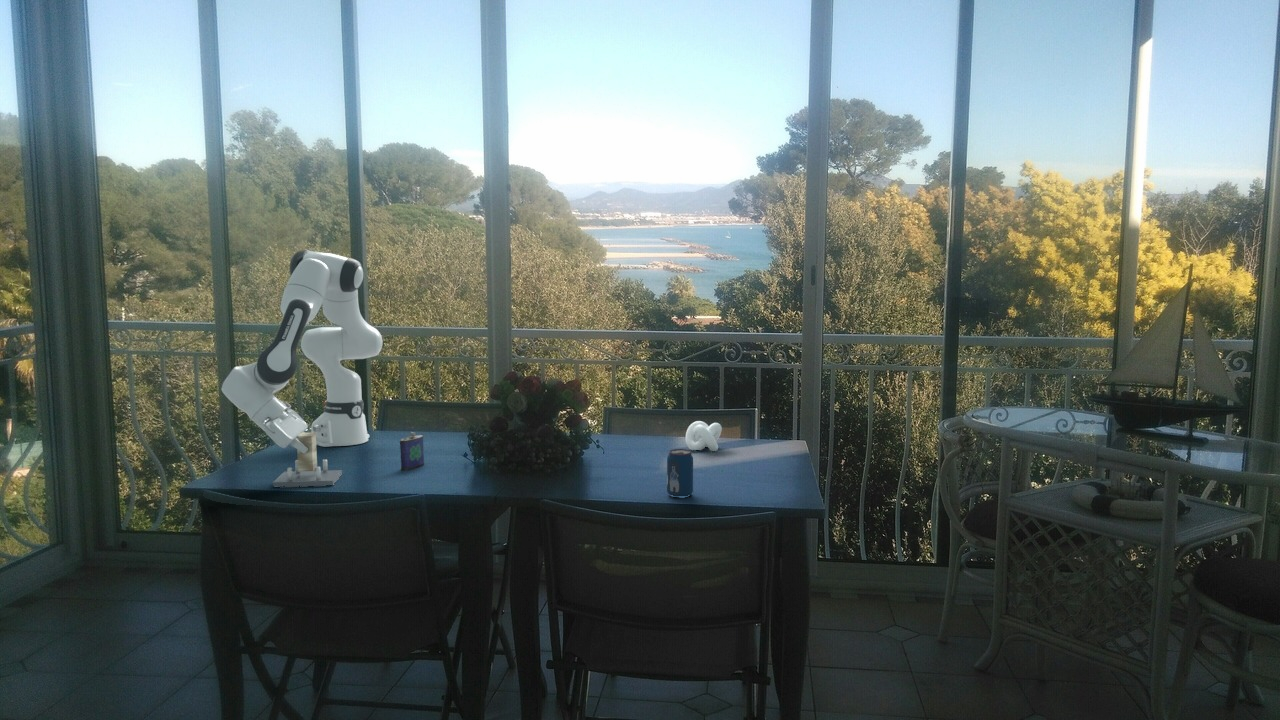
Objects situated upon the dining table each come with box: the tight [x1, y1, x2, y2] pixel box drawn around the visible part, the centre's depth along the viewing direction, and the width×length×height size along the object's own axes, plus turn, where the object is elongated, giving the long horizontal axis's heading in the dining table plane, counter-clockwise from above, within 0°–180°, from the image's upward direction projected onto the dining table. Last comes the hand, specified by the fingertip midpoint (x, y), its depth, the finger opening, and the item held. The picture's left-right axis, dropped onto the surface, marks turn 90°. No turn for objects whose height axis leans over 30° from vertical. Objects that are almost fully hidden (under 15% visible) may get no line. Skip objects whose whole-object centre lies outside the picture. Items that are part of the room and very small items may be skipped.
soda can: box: [666, 448, 694, 496], centre depth 245 cm, size 7×7×12 cm
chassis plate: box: [272, 459, 343, 488], centre depth 260 cm, size 16×12×5 cm
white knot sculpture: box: [685, 420, 723, 452], centre depth 299 cm, size 11×12×9 cm
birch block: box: [296, 431, 318, 472], centre depth 259 cm, size 4×5×10 cm
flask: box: [399, 431, 425, 471], centre depth 276 cm, size 9×3×11 cm, turn 152°
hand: (309, 448), depth 259 cm, fingers closed on birch block, 5 cm apart
